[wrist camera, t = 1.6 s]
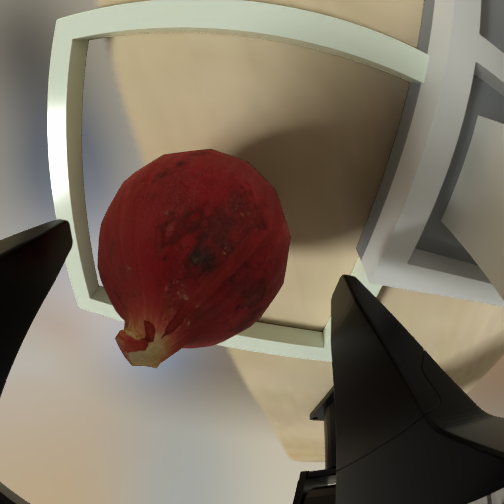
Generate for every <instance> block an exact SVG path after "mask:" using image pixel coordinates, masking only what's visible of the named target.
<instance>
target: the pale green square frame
mask: <svg viewBox="0 0 504 504" xmlns="http://www.w3.org/2000/svg"><path fill="white" fill-rule="evenodd" d="M174 32H183V33H212V34H226V35H236V36H245V37H253V38H260V39H266V40H272V41H278V42H284V43H289V44H294V45H298V46H303V47H307V48H311V49H315V50H319V51H323V52H327V53H330V54H334V55H337V56H341V57H344V58H347V59H350V60H353V61H356V62H359V63H362V64H365V65H368V66H371V67H374V68H376V69H379V70H382V71H384V72H387V73H389V74H392V75H394V76H396V77H399V78H401V79H403V80H406V81H408V82H411V83H424V80H425V75H426V71H427V66H428V61H429V55H428V54H426V53H424V52H422V51H420V50H418V49H416V48H414V47H411V46H409V45H407V44H405V43H403V42H401V41H398V40H396V39H394V38H391V37H389V36H386V35H384V34H381V33H379V32H376V31H374V30H371V29H368V28H365V27H363V26H360V25H357V24H354V23H351V22H348V21H344V20H341V19H338V18H334V17H331V16H327V15H323V14H319V13H315V12H311V11H306V10H302V9H297V8H292V7H287V6H281V5H275V4H268V3H261V2H253V1H243V0H151V1H142V2H134V3H126V4H120V5H114V6H109V7H103V8H99V9H94V10H90V11H86V12H81V13H78V14H74V15H70V16H67V17H63V18H60V19H57V22H56V28H55V33H54V39H53V45H52V53H51V61H50V72H49V84H48V111H47V120H48V123H47V125H48V151H49V166H50V176H51V185H52V193H53V201H54V206H55V213H56V219H63V220H67V221H68V222H69V223H70V228H71V234H72V239H73V245H72V248H71V250H70V252H69V254H68V256H67V258H66V260H65V262H66V265H67V270H68V274H69V277H70V281H71V284H72V288H73V291H74V295H75V298H76V301H77V304H78V307H79V308H82V309H85V310H88V311H91V312H94V313H97V314H100V315H103V316H106V317H109V318H113V319H116V320H119V321H123V322H125V321H124V320H123V319H122V318H121V317H120V316H119V315H118V313H117V312H116V311H115V309H114V307H113V305H112V303H111V301H110V299H109V297H108V295H107V293H106V291H105V289H104V287H102V286H99V284H98V280H97V275H96V271H95V265H94V260H93V254H92V248H91V243H90V236H89V229H88V221H87V213H86V205H85V194H84V183H83V165H82V101H83V86H84V73H85V64H86V56H87V48H88V41H89V40H93V39H99V38H106V37H113V36H122V35H132V34H145V33H174ZM350 276H355V277H356V278H357V279H358V280H359V281H360V282H361V283H362V284H363V285H364V286H365V287H366V288H367V289H368V290H369V291H370V292H371V293H372V294H373V295H374V296H375V297H377V295H378V293H379V291H380V289H381V288H382V286H383V285H378V284H372V283H369V281H368V279H367V276H366V273H365V270H364V268H363V265H362V262H361V260H360V257H358V260H357V262H356V264H355V266H354V269H353V271H352V273H351V275H350ZM216 345H221V346H226V347H231V348H237V349H242V350H248V351H254V352H260V353H266V354H273V355H279V356H286V357H294V358H302V359H310V360H319V361H329V362H332V355H331V317H330V319H329V321H328V323H327V325H326V326H325V328H324V330H323V332H318V331H311V330H304V329H297V328H291V327H284V326H278V325H272V324H266V323H260V322H255V323H254V324H253V325H252V326H251V327H249V328H248V329H246V330H244V331H242V332H241V333H239V334H237V335H235V336H233V337H231V338H229V339H228V340H226V341H224V342H222V343H219V344H216Z"/></svg>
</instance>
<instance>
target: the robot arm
mask: <svg viewBox="0 0 504 504" xmlns="http://www.w3.org/2000/svg"><path fill="white" fill-rule="evenodd" d="M72 245H73V239H72V234H71V228H70V223H69V222H68V221H67V220H63V219H56V220H53V221H51V222H48V223H45V224H42V225H39V226H36V227H34V228H31V229H28V230H26V231H23V232H20V233H18V234H15V235H12V236H10V237H8V238H5V239H3V240H0V397H1V394H2V391H3V388H4V385H5V383H6V379H7V377H8V374H9V372H10V369H11V367H12V365H13V362H14V360H15V358H16V355H17V353H18V351H19V349H20V346H21V344H22V342H23V340H24V338H25V336H26V334H27V332H28V330H29V328H30V325H31V324H32V322H33V319H34V318H35V316H36V314H37V312H38V310H39V308H40V307H41V305H42V303H43V301H44V299H45V298H46V296H47V294H48V292H49V291H50V289H51V287H52V285H53V284H54V282H55V280H56V278H57V276H58V274H59V272H60V270H61V268H62V266H63V264H64V262H65V260H66V258H67V256H68V254H69V252H70V250H71V248H72ZM423 350H424V349H423V347H422V346H421V345H420V344H419V343H418V342H417V341H416V340H415V339H414V337H413V336H412V335H411V334H410V333H409V332H408V331H407V330H406V329H405V328H404V327H403V326H402V324H401V323H400V322H399V321H398V320H397V319H396V318H395V317H394V316H393V315H392V314H391V313H390V312H389V311H388V310H387V309H386V307H385V306H384V305H383V304H382V303H381V302H380V301H379V300H378V299H377V298H376V297H375V296H374V295H373V294H372V293H371V292H370V291H369V290H368V289H367V288H366V287H365V286H364V285H363V284H362V283H361V282H360V281H359V280H358V279H357V278H356V277H355V276H350V275H345V274H344V275H342V276H341V277H340V279H339V282H338V284H337V286H336V288H335V290H334V293H333V295H332V299H331V355H332V368H333V382H334V386H333V387H332V388H331V390H330V391H329V392H328V393H327V395H326V396H325V397H324V398H323V399H322V401H321V402H320V403H319V404H318V405H317V407H316V408H315V409H314V410H313V411H312V412H311V413H310V420H319V421H324V433H325V470H318V471H302V472H301V473H300V478H299V481H298V483H297V488H296V492H295V497H294V501H293V504H504V418H501V417H496V416H493V415H490V414H488V413H486V412H484V411H483V410H482V409H480V408H479V407H478V406H477V405H476V404H475V403H474V402H473V401H472V400H471V399H470V397H469V396H468V395H467V394H466V393H465V392H464V391H463V390H462V389H461V388H460V387H459V386H458V385H457V384H456V383H455V382H454V381H453V380H452V379H451V378H450V377H449V376H448V375H447V374H446V373H445V372H444V371H443V370H442V369H441V368H440V366H439V365H438V364H437V363H436V362H435V361H434V360H433V359H432V358H431V356H430V355H429V354H428V353H427V352H426V351H425V350H424V351H423ZM334 483H336V484H335V485H328V484H334ZM0 504H30V503H28V502H27V501H25V500H24V499H22V498H21V497H19V496H18V495H17V494H15V493H14V492H13V491H11V490H10V489H9V488H7V487H6V486H5V485H3V484H2V483H1V482H0Z"/></svg>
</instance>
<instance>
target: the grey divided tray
mask: <svg viewBox="0 0 504 504" xmlns="http://www.w3.org/2000/svg"><path fill="white" fill-rule="evenodd" d="M417 49H418V50H420V51H422V52H424V53H426V54H428V55H429V61H428V66H427V71H426V75H425V80H424V83H411V82H410V85H409V89H408V93H407V97H406V101H405V105H404V109H403V113H402V117H401V120H400V124H399V128H398V131H397V135H396V138H395V141H394V145H393V148H392V151H391V154H390V157H389V161H388V164H387V167H386V170H385V173H384V176H383V179H382V182H381V185H380V187H379V190H378V193H377V196H376V199H375V201H374V204H373V207H372V209H371V212H370V215H369V217H368V220H367V223H366V225H365V228H364V230H363V233H362V235H361V238H360V240H359V243H358V245H357V247H356V249H357V252H358V254H359V257H360V260H361V262H362V265H363V268H364V270H365V273H366V276H367V279H368V281H369V283H372V284H378V285H383V286H389V287H394V288H400V289H405V290H411V291H417V292H422V293H428V294H434V295H439V296H445V297H451V298H456V299H462V300H468V301H474V302H480V303H486V304H492V305H498V306H504V301H503V299H502V298H501V296H500V295H499V293H498V292H497V290H496V289H495V287H494V286H493V285H492V283H491V282H490V280H489V279H488V278H487V276H486V275H485V274H484V272H483V271H482V270H481V268H480V267H479V266H478V264H477V263H476V262H475V260H474V259H473V258H472V257H471V255H470V254H469V253H468V252H467V250H466V249H465V248H464V247H463V246H462V244H461V243H460V242H459V241H458V240H457V238H456V237H455V236H454V235H453V234H452V233H451V232H450V230H449V229H448V228H447V227H446V226H445V225H444V224H443V223H442V222H441V220H442V217H443V215H444V213H445V210H446V208H447V206H448V203H449V201H450V199H451V196H452V194H453V191H454V189H455V186H456V183H457V181H458V178H459V175H460V173H461V170H462V167H463V164H464V161H465V158H466V155H467V152H468V149H469V146H470V143H471V139H472V136H473V132H474V129H475V125H476V121H477V118H478V115H479V116H482V117H485V118H488V119H491V120H494V121H497V122H499V123H502V124H504V0H424V6H423V14H422V22H421V28H420V35H419V41H418V46H417Z"/></svg>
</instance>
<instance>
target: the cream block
mask: <svg viewBox="0 0 504 504" xmlns="http://www.w3.org/2000/svg"><path fill="white" fill-rule="evenodd" d="M441 222H442V223H443V224H444V225H445V226H446V227H447V228H448V229H449V230H450V232H451V233H452V234H453V235H454V236H455V237H456V238H457V240H458V241H459V242H460V243H461V244H462V246H463V247H464V248H465V249H466V250H467V252H468V253H469V254H470V255H471V257H472V258H473V259H474V260H475V262H476V263H477V264H478V266H479V267H480V268H481V270H482V271H483V272H484V274H485V275H486V276H487V278H488V279H489V280H490V282H491V283H492V285H493V286H494V287H495V289H496V290H497V292H498V293H499V295H500V296H501V298H502V299H503V301H504V124H502V123H499V122H497V121H494V120H491V119H488V118H485V117H482V116H479V115H478V118H477V121H476V125H475V129H474V132H473V136H472V139H471V143H470V146H469V149H468V152H467V155H466V158H465V161H464V164H463V167H462V170H461V173H460V175H459V178H458V181H457V183H456V186H455V189H454V191H453V194H452V196H451V199H450V201H449V203H448V206H447V208H446V210H445V213H444V215H443V217H442V220H441Z"/></svg>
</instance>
